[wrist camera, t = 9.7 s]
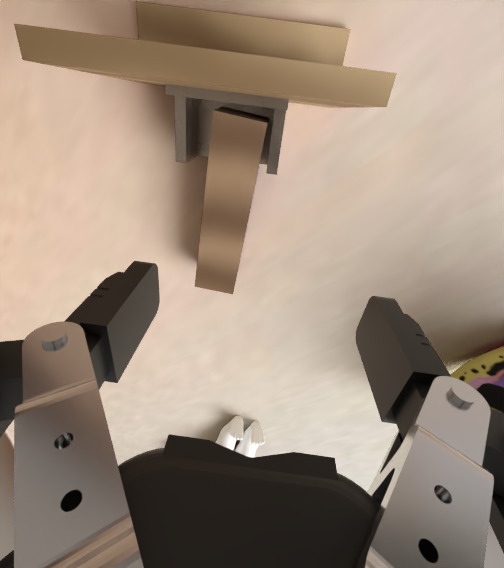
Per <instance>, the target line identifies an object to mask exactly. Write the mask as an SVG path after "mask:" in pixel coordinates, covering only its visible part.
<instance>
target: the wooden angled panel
mask: <svg viewBox="0 0 504 568" xmlns="http://www.w3.org/2000/svg"><path fill="white" fill-rule="evenodd" d="M136 9H137V23H138V37H139V40H136V39H128V38H120V37H113V36H105V35H97V34H90V33H82V32H74V31H66V30H59V29H51V28H43V27H36V26H28V25H20V24H14V25H15V30H16V34H17V38H18V42H19V46H20V51H21V55H22V59H23V60H26V61H32V62H37V63H42V64H47V65H52V66H57V67H63V68H68V69H73V70H78V71H83V72H88V73H94V74H99V75H104V76H109V77H114V78H119V79H125V80H130V81H135V82H140V83H146V84H154V85H161V86H165V83H166V84H174V85H182V86H189V87H197V88H205V89H212V90H220V91H228V92H236V93H243V94H251V95H259V96H267V97H274V98H282V99H289V101H288V102H292V103H300V104H308V105H316V106H323V107H331V108H341V107H387V104H388V100H389V97H390V94H391V90H392V87H393V84H394V80H395V77H396V74H397V73H390V72H382V71H375V70H367V69H359V68H351V67H344V66H342V65H343V60H344V56H345V51H346V47H347V42H348V38H349V33H350V29H345V28H337V27H330V26H322V25H314V24H307V23H299V22H291V21H284V20H276V19H268V18H260V17H253V16H245V15H237V14H230V13H222V12H214V11H207V10H199V9H191V8H184V7H176V6H168V5H161V4H153V3H145V2H137V1H136Z"/></svg>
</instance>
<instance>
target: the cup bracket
mask: <svg viewBox="0 0 504 568" xmlns="http://www.w3.org/2000/svg"><path fill="white" fill-rule="evenodd" d="M165 94H166V95H174V100H175V142H176V162H183V163H187V162H188V161H190V160H191V159H193V158H195V157H196V156H206V157H209V147H210V138H211V128H212V119H213V110H215V109H217V108H219V107H222V106H223V107H227V108H231V109H235V110H239V111H244V112H248V113H252V114H256V115H260V116H265V117H269V119H268V124H267V129H266V134H265V139H264V144H263V149H262V154H261V159H260V164H267V173H268V174H276V175H277V168H278V161H279V154H280V148H281V141H282V134H283V127H284V120H285V114H286V110H287V108H288V101H289V99H282V98H274V97H267V96H259V95H251V94H243V93H236V92H228V91H220V90H212V89H205V88H197V87H189V86H182V85H174V84H166V83H165Z"/></svg>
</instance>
